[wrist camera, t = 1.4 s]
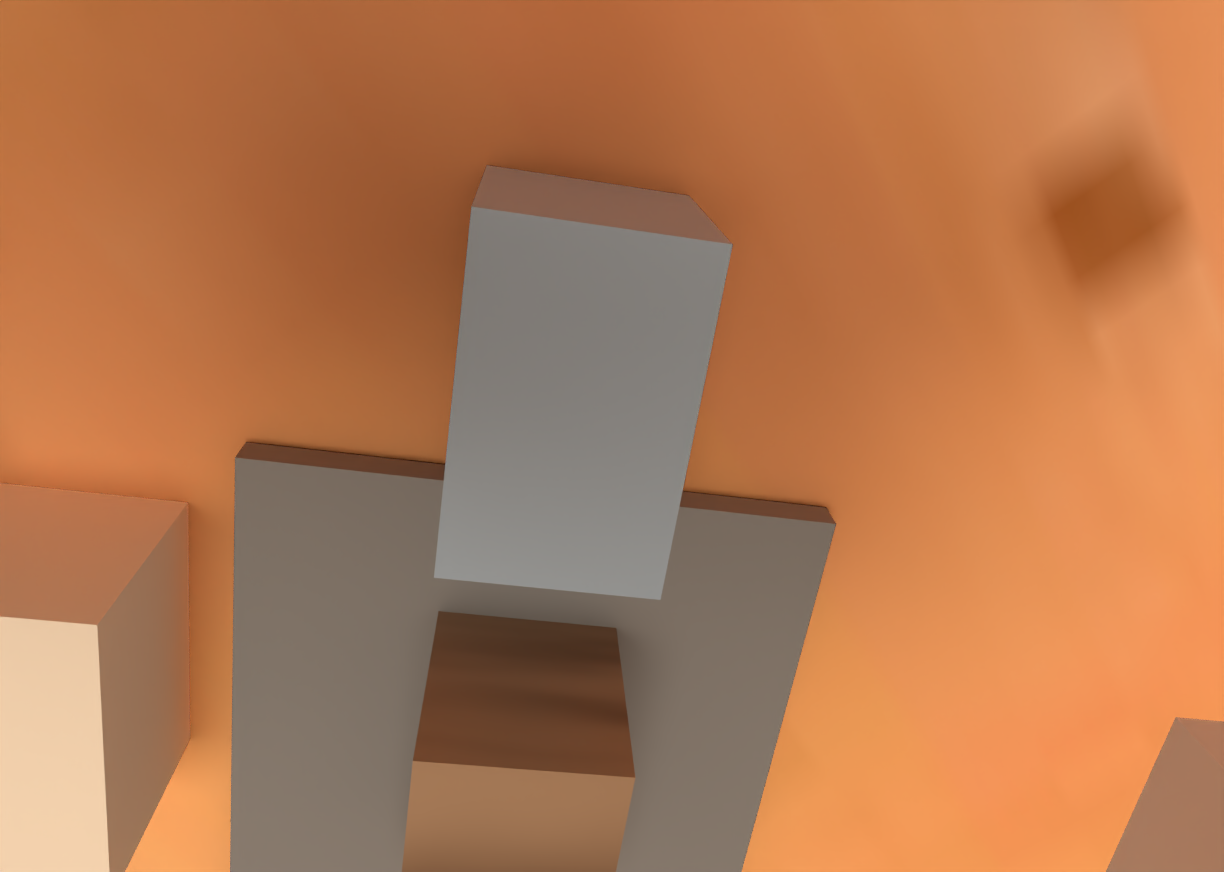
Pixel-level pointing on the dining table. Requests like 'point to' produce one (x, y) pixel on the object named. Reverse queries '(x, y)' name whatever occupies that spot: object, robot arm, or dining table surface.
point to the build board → (411, 598)
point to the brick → (89, 673)
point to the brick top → (576, 382)
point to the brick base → (520, 749)
